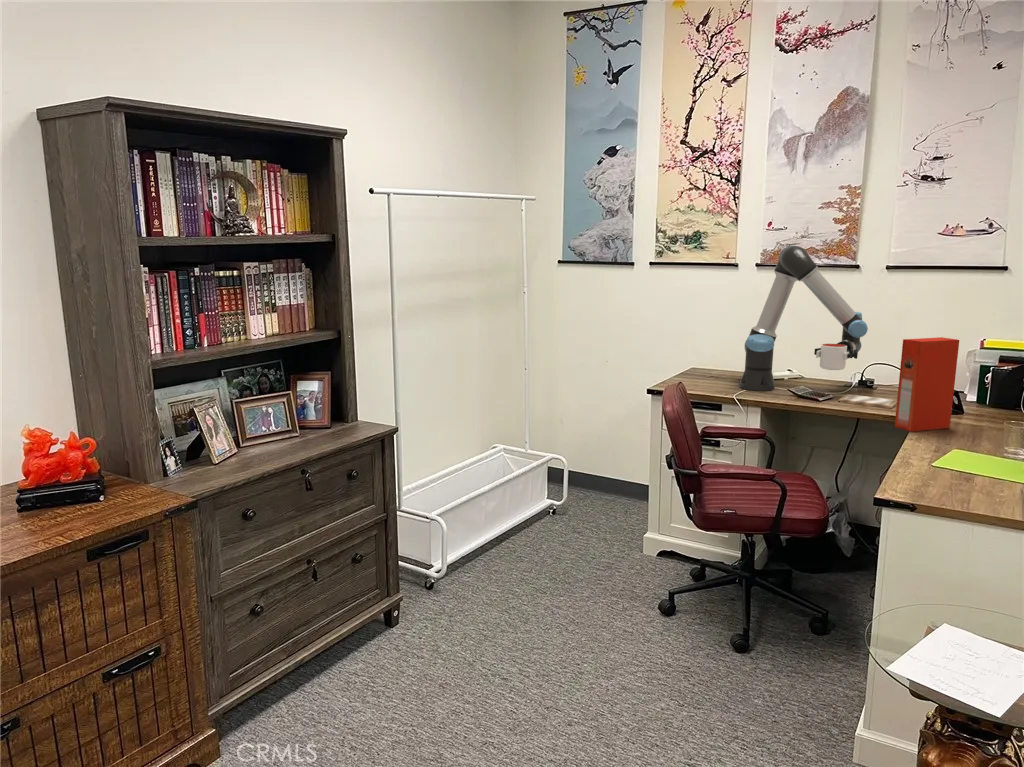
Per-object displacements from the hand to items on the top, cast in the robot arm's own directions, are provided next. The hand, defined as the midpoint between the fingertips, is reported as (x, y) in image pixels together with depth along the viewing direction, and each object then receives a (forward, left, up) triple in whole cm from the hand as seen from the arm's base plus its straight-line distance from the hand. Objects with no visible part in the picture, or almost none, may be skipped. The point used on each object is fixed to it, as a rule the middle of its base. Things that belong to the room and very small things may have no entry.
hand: (830, 355), depth 315 cm
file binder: (+41, -29, -19) cm, 53 cm away
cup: (0, +4, -6) cm, 8 cm away
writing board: (+15, +4, -18) cm, 24 cm away
